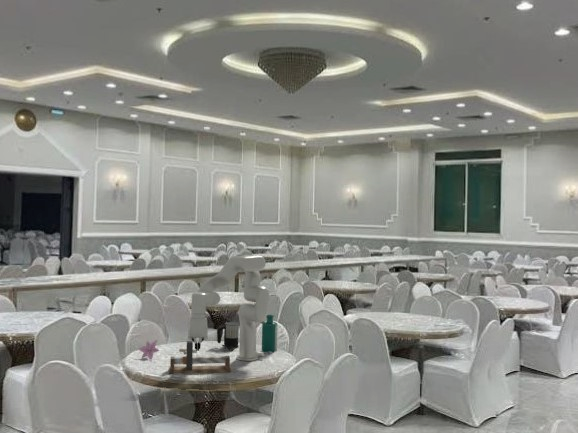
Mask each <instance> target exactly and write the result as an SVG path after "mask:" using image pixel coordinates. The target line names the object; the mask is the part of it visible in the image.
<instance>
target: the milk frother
mask: <svg viewBox="0 0 578 433" xmlns="http://www.w3.org/2000/svg"><path fill="white" fill-rule="evenodd" d="M222 330H223V334H224V336H223V344H221V341H222V338H221V334H222V333H221V331H222ZM239 335H240V322H234V321H233V322H230V321H229V322H224V325H220V326H218V327H217V329H216V336H217V337H216V339H217V343H218V344H221V346H222V347H223V348H225V349H227V350H229V351H234V350H235V349H237V348H238V349H239V348H240V345H239Z"/></svg>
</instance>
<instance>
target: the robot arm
mask: <svg viewBox="0 0 578 433" xmlns="http://www.w3.org/2000/svg"><path fill="white" fill-rule="evenodd" d="M266 264H267V263H266V259H265V257H264V256H261V255H254V254H253V255H252V254H243V255H241V256H240V255H232V256H231V257H230V258H229V259H227V261H226V263H225V264H224V265H223V267H221V269H220V270H219V272H218V273H217V274H216V275H214V276H212V277H211V278H209V279H207V280H206V281H205V282H204V283H203V284H202V285H201V286H200V288H199V289H198V290H197V292H193V293H192V294H191V306H190V308H191V309H190V310H191V312H190V316H191V317H189V321H188V326H187V327H188V330H187V341H193V343H194V350H196V351H197V352H199V351H200V350H201V343H203V341H207V340H209V335H208V318H207V317H209V314H208V313H206V312H207V311H206V309H207V307H206V306H210V307H212V306H213V307H214V306H217V305H218V304H219V303H220V301H221V296H220V294H219V293H218V292H215V290H216V289H220V288H221V287H224V286H227V285H230V284H231V283H232V281H233V280H234V279H235V277H236V276H237V274H238V273H239V272H243V273H245V283H244V290H243V299H244V301H247V302H251V303H243V304H242V305H240V307H239V308H238V319H239V353H238V355H236V359H237V360H239V361H244V362H252V361H257V360H259V356H265V352H264V351H258V350H257V325H256V323H261V322H263V321H264V322H265V320H267V318H266V316H267V315H268V310H269V305H270V304H269V302H270V292H269V290H268V288H267V287H265V286H261V273H260V271H262V270H264V269H265V267H266ZM252 303H253V304H252ZM254 303H255V304H254ZM197 339H198V341H197Z"/></svg>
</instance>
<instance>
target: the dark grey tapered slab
mask: <svg viewBox="0 0 578 433" xmlns="http://www.w3.org/2000/svg"><path fill="white" fill-rule="evenodd" d="M193 343H194V342H193V341H192V340H187V341H186V349H187V355H185V356H187V363H186V365H185V366H186V370H192V366H193V364H192V357H193V354H194V353H193V350H194V348H193V346H194V344H193Z"/></svg>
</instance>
